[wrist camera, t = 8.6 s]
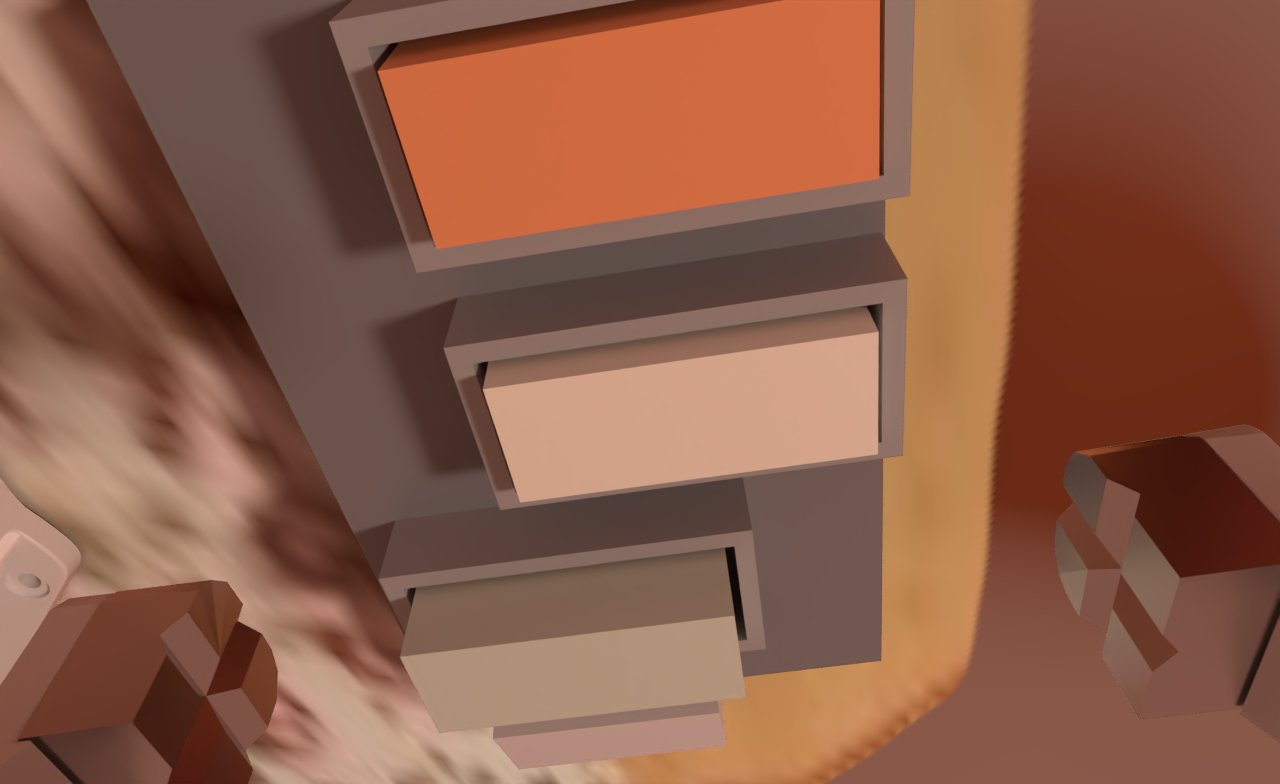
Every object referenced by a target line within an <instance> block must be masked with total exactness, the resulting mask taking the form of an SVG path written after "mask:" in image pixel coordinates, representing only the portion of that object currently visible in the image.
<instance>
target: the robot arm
mask: <svg viewBox="0 0 1280 784" xmlns="http://www.w3.org/2000/svg"><path fill="white" fill-rule="evenodd" d="M1063 486H1064V487H1065V489H1066V490H1067V492H1068V493H1069V495H1070V496H1071V498H1072V500H1073V501H1074V503H1073V504H1072V505H1071V506H1070V507H1069V508H1068V509H1067V510H1066V511H1065V512H1064V513H1063V514H1062V515H1061V516H1060V517H1059V518H1058V519H1057V527H1056V535H1055V544H1054V546H1055V553H1056V559H1057V565H1058V572H1059V575H1060V578H1061V580H1062V583H1063V586H1064V588H1065V591H1066V594H1067V596H1068V598H1069V599H1070V601H1071V603H1072V605H1073V607H1074V608H1075V610H1076V612H1077V614H1078V615H1079V617H1081V618H1083V619H1084V620H1086V621H1087V622H1089V623H1091V624H1092V625H1094V626H1096V627H1097V628H1099V629H1101V630H1102V631H1104V632H1105V633H1107V635H1106V640H1105V644H1104V649H1103V654H1102V657H1103V659H1104V660H1105V662H1106V664H1107V666H1108V667H1109V669H1110V671H1111V672H1112V674H1113V676H1114V677H1115V679H1116V681H1117V682H1118V684H1119V686H1120V688H1121V689H1122V691H1123V693H1124V694H1125V696H1126V698H1127V699H1128V701H1129V703H1130V705H1131V706H1132V708H1133V710H1134V711H1135V713H1136V715H1137V717H1138V718H1139V719H1147V718H1157V717H1167V716H1176V715H1186V714H1196V713H1206V712H1215V711H1225V710H1235V709H1242V710H1241V713H1240V714H1241V715H1242V716H1243V717H1245V718H1246V719H1248V720H1249V721H1250V722H1252V723H1253V724H1255V725H1256V726H1257V727H1259V728H1260V729H1261V730H1263V731H1264V732H1266V733H1267V734H1268V735H1270V736H1272V737H1273V738H1274V739H1275V740H1277V741H1278V742H1279V743H1280V448H1279V447H1278V446H1277V445H1276V444H1275V443H1274V442H1273V441H1272V440H1271V439H1270V438H1269V437H1268V436H1267V435H1266V434H1265V433H1264V432H1262V431H1261V430H1258V429H1256V428H1254V427H1251V426H1248V425H1240V426H1234V427H1228V428H1222V429H1216V430H1209V431H1204V432H1197V433H1191V434H1188V435H1186V436H1175V437H1168V438H1162V439H1156V440H1149V441H1143V442H1136V443H1130V444H1123V445H1117V446H1111V447H1105V448H1098V449H1091V450H1086V451H1079V452H1074V454H1073V455H1072V457H1071V458H1070V460H1069V461H1068V463H1067V465H1066V471H1065V476H1064V482H1063ZM80 562H81V555H80V552H79V550H78V549H77V547H76V546H75V545H74V544H73V543H72V542H71V541H70V540H69V539H68V538H67V537H66V536H65V535H63V534H62V533H61V532H59V531H58V530H57V529H56V528H54V527H53V526H52V525H50V524H49V523H47V522H46V521H45V520H43V519H42V518H40V517H39V516H38V515H36V514H35V513H33V512H32V511H30V510H29V509H27V508H26V507H25V506H24V505H23V504H22V503H21V502H20V501H19V500H18V499H17V498H16V497H15V496H14V495H13V494H12V492H11V491H10V490H9V489H8V487H7V486H6V485H5V483H4V482H3V481H2V479H1V478H0V784H248V783H249V780H250V777H251V774H252V772H253V768H252V765H251V763H250V760H249V758H248V756H247V753H246V751H245V750H246V749H247V748H248V747H249V746H250V745H251V744H252V743H253V742H254V741H255V740H256V739H257V738H258V737H259V736H260V735H261V734H262V733H263V732H264V731H265V730H266V729H267V728H268V726H269V722H270V719H271V716H272V713H273V710H274V707H275V704H276V701H277V675H278V670H277V667H276V663H275V660H274V656H273V653H272V649H271V648H270V646H269V645H268V643H267V641H266V640H265V638H264V636H263V635H262V634H261V633H260V632H258V631H256V630H254V629H252V628H250V627H248V626H246V625H244V624H242V623H241V622H239V621H238V618H239V615H240V612H241V609H242V606H243V604H242V602H241V601H240V599H239V598H238V597H237V595H236V594H235V592H234V591H233V590H232V588H231V587H230V585H229V584H228V583H227V582H223V581H215V580H208V581H200V582H192V583H183V584H175V585H167V586H159V587H151V588H143V589H135V590H126V591H118V592H116V593H112V594H103V595H95V596H86V597H77V598H69V599H67V600H66V601H64V602H62V603H61V604H59V605H57V603H58V601H59V599H60V598H61V596H62V594H63V593H64V591H65V589H66V587H67V586H68V584H69V582H70V581H71V579H72V577H73V575H74V574H75V572H76V570H77V568H78V567H79V565H80ZM56 605H57V606H56ZM55 606H56V607H55Z"/></svg>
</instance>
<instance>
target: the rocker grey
mask: <svg viewBox="0 0 1280 784" xmlns="http://www.w3.org/2000/svg"><path fill="white" fill-rule="evenodd" d="M493 739H494V741H495V742H496V743H497V744H498V745H499V746H500V748H501V749H502V750H503V751H504V752H505V753H506V755H507V756H508V757H509V758H510V759H511V760H512V762H513V763H514V764H515V765H516V766H517V768H518V769H526V768H535V767H544V766H553V765H562V764H571V763H580V762H589V761H598V760H607V759H616V758H625V757H633V756H642V755H651V754H660V753H669V752H678V751H687V750H696V749H705V748H714V747H723V746H727V744H726V736H725V728H724V720H723V712H722V704H721V700H720V701H711V702H702V703H694V704H685V705H677V706H668V707H659V708H651V709H642V710H633V711H625V712H616V713H608V714H599V715H590V716H582V717H573V718H564V719H556V720H547V721H539V722H530V723H521V724H513V725H504V726H495V727H494V729H493Z"/></svg>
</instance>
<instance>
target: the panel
mask: <svg viewBox="0 0 1280 784" xmlns="http://www.w3.org/2000/svg"><path fill="white" fill-rule="evenodd" d="M86 1H87V3H88V5H89V7H90V9H91V11H92V13H93V15H94V17H95V19H96V21H97V23H98V25H99V27H100V29H101V31H102V33H103V35H104V37H105V39H106V41H107V43H108V45H109V47H110V49H111V51H112V53H113V55H114V57H115V59H116V61H117V63H118V65H119V67H120V69H121V71H122V73H123V75H124V77H125V79H126V81H127V83H128V85H129V87H130V89H131V91H132V93H133V95H134V97H135V99H136V101H137V103H138V105H139V107H140V109H141V111H142V113H143V115H144V117H145V119H146V121H147V123H148V125H149V127H150V129H151V131H152V133H153V135H154V137H155V139H156V141H157V143H158V145H159V147H160V149H161V151H162V153H163V155H164V157H165V159H166V161H167V163H168V165H169V167H170V169H171V171H172V173H173V175H174V177H175V179H176V181H177V183H178V185H179V187H180V189H181V191H182V193H183V195H184V197H185V199H186V201H187V203H188V205H189V207H190V209H191V211H192V213H193V215H194V217H195V219H196V221H197V223H198V225H199V227H200V229H201V231H202V233H203V235H204V237H205V239H206V241H207V243H208V245H209V247H210V249H211V251H212V253H213V255H214V257H215V259H216V261H217V263H218V265H219V267H220V269H221V271H222V273H223V275H224V277H225V279H226V281H227V283H228V285H229V287H230V289H231V291H232V293H233V295H234V297H235V299H236V301H237V303H238V305H239V307H240V309H241V311H242V313H243V315H244V317H245V319H246V321H247V323H248V325H249V326H250V328H251V330H252V332H253V334H254V336H255V338H256V340H257V342H258V344H259V346H260V348H261V350H262V352H263V354H264V356H265V358H266V360H267V362H268V364H269V366H270V368H271V370H272V372H273V374H274V376H275V378H276V380H277V382H278V384H279V386H280V388H281V390H282V392H283V394H284V396H285V398H286V400H287V402H288V404H289V406H290V408H291V410H292V412H293V414H294V416H295V418H296V420H297V422H298V424H299V426H300V428H301V430H302V432H303V434H304V436H305V438H306V440H307V442H308V444H309V446H310V448H311V450H312V452H313V454H314V456H315V458H316V460H317V462H318V464H319V466H320V468H321V470H322V472H323V474H324V476H325V478H326V480H327V482H328V484H329V486H330V488H331V490H332V492H333V494H334V496H335V498H336V500H337V502H338V504H339V506H340V508H341V510H342V512H343V514H344V516H345V518H346V520H347V522H348V524H349V526H350V528H351V530H352V532H353V534H354V536H355V538H356V540H357V542H358V544H359V546H360V548H361V550H362V552H363V554H364V556H365V558H366V560H367V562H368V564H369V566H370V568H371V570H372V572H373V574H374V576H375V578H376V580H377V582H378V584H379V586H380V588H381V590H382V592H383V594H384V596H385V598H386V600H387V602H388V604H389V606H390V608H391V610H392V612H393V614H394V616H395V618H396V620H397V622H398V624H399V626H400V628H401V630H402V632H403V634H404V636H405V633H406V629H407V624H408V620H409V616H410V612H411V608H412V604H413V599H414V595H415V591H416V587H423V586H431V585H439V584H447V583H454V582H462V581H470V580H478V579H485V578H493V577H501V576H509V575H516V574H524V573H532V572H540V571H547V570H555V569H563V568H571V567H578V566H586V565H594V564H602V563H609V562H617V561H625V560H633V559H640V558H648V557H656V556H664V555H671V554H679V553H687V552H695V551H702V550H710V549H718V548H725V553H726V560H727V567H728V574H729V580H730V587H731V594H732V601H733V608H734V615H735V622H736V629H737V636H738V643H739V650H740V657H741V664H742V671H743V677H746V676H755V675H763V674H772V673H780V672H789V671H797V670H806V669H814V668H823V667H831V666H840V665H848V664H857V663H865V662H874V661H881V634H882V517H883V458H889V457H897V456H903V431H904V393H905V355H906V317H907V277H906V275H905V273H904V272H903V270H902V268H901V266H900V264H899V263H898V261H897V259H896V257H895V256H894V254H893V252H892V250H891V249H890V247H889V245H888V243H887V242H886V240H885V200H886V199H892V198H899V197H905V196H910V166H911V128H912V90H913V52H914V14H915V0H880V118H879V179H877V180H870V181H864V182H858V183H851V184H845V185H839V186H833V187H826V188H820V189H814V190H807V191H801V192H795V193H788V194H782V195H776V196H769V197H763V198H757V199H750V200H744V201H738V202H732V203H725V204H719V205H713V206H706V207H700V208H694V209H687V210H681V211H675V212H668V213H662V214H656V215H649V216H643V217H637V218H631V219H624V220H618V221H612V222H605V223H599V224H593V225H586V226H580V227H574V228H567V229H561V230H555V231H548V232H542V233H536V234H530V235H523V236H517V237H511V238H504V239H498V240H492V241H485V242H479V243H473V244H466V245H460V246H454V247H448V248H441V249H436V246H435V243H434V240H433V237H432V234H431V231H430V228H429V225H428V222H427V219H426V216H425V213H424V210H423V207H422V204H421V201H420V198H419V195H418V192H417V189H416V186H415V183H414V180H413V177H412V174H411V171H410V168H409V165H408V162H407V159H406V156H405V153H404V150H403V147H402V144H401V141H400V138H399V135H398V132H397V128H396V125H395V122H394V119H393V116H392V113H391V110H390V107H389V104H388V101H387V98H386V95H385V92H384V89H383V86H382V83H381V80H380V77H379V74H378V70H379V69H380V67H381V66H382V65H383V63H384V62H385V61H386V60H387V58H388V57H389V56H390V54H391V53H392V52H393V50H394V49H395V48H396V46H397V45H398V44H399V43H400V42H401V41H407V40H413V39H418V38H424V37H430V36H435V35H441V34H447V33H452V32H458V31H463V30H469V29H475V28H480V27H486V26H492V25H497V24H503V23H509V22H514V21H520V20H526V19H531V18H537V17H542V16H548V15H554V14H559V13H565V12H571V11H576V10H582V9H588V8H593V7H599V6H605V5H610V4H616V3H621V2H627V1H633V0H86ZM859 306H867V308H868V310H869V312H870V314H871V317H872V319H873V321H874V323H875V325H876V327H877V329H878V332H879V345H878V454H877V455H869V456H862V457H854V458H847V459H840V460H832V461H825V462H817V463H810V464H803V465H795V466H788V467H780V468H773V469H766V470H758V471H751V472H743V473H736V474H729V475H721V476H714V477H706V478H699V479H692V480H684V481H677V482H669V483H662V484H655V485H647V486H640V487H633V488H625V489H618V490H610V491H603V492H596V493H588V494H581V495H573V496H566V497H559V498H551V499H544V500H536V501H529V502H522V503H520V500H519V497H518V494H517V491H516V488H515V485H514V482H513V479H512V476H511V473H510V470H509V467H508V464H507V461H506V458H505V455H504V452H503V449H502V446H501V443H500V440H499V437H498V434H497V431H496V428H495V425H494V422H493V419H492V416H491V413H490V410H489V407H488V404H487V401H486V398H485V395H484V392H483V386H484V381H485V376H486V372H487V367H488V362H489V361H494V360H501V359H508V358H515V357H521V356H528V355H535V354H542V353H549V352H555V351H562V350H569V349H576V348H582V347H589V346H596V345H603V344H609V343H616V342H623V341H630V340H636V339H643V338H650V337H657V336H663V335H670V334H677V333H684V332H690V331H697V330H704V329H711V328H718V327H724V326H731V325H738V324H745V323H751V322H758V321H765V320H772V319H778V318H785V317H792V316H799V315H805V314H812V313H819V312H826V311H832V310H839V309H846V308H853V307H859Z"/></svg>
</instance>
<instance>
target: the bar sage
mask: <svg viewBox="0 0 1280 784" xmlns="http://www.w3.org/2000/svg"><path fill="white" fill-rule="evenodd" d="M400 658H401V660H402V662H403V664H404V666H405V668H406V670H407V672H408V674H409V676H410V678H411V680H412V682H413V684H414V685H415V687H416V689H417V691H418V693H419V695H420V697H421V699H422V701H423V703H424V705H425V707H426V709H427V711H428V712H429V714H430V716H431V718H432V720H433V722H434V724H435V726H436V728H437V730H438V732H439V733H444V732H452V731H461V730H470V729H478V728H487V727H495V726H504V725H513V724H521V723H530V722H539V721H547V720H556V719H564V718H573V717H582V716H590V715H599V714H608V713H616V712H625V711H633V710H642V709H651V708H659V707H668V706H677V705H685V704H694V703H702V702H711V701H720V700H728V699H737V698H745V697H746V693H745V685H744V678H743V671H742V664H741V657H740V650H739V643H738V636H737V629H736V622H735V615H734V608H733V601H732V594H731V587H730V580H729V574H728V567H727V560H726V553H725V548H718V549H710V550H702V551H695V552H687V553H679V554H671V555H664V556H656V557H648V558H640V559H633V560H625V561H617V562H609V563H602V564H594V565H586V566H578V567H571V568H563V569H555V570H547V571H540V572H532V573H524V574H516V575H509V576H501V577H493V578H485V579H478V580H470V581H462V582H454V583H447V584H439V585H431V586H423V587H416V591H415V595H414V599H413V604H412V608H411V612H410V616H409V620H408V624H407V629H406V633H405V637H404V641H403V645H402V650H401V654H400Z"/></svg>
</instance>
